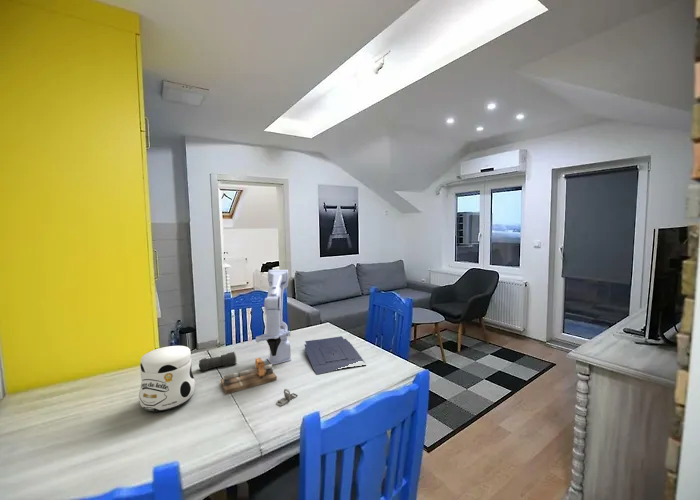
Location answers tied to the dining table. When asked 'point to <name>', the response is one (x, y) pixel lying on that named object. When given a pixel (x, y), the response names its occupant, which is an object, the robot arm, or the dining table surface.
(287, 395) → the strap clip
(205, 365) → the flashlight
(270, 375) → the pipe stand
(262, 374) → the collar
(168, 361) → the milk container
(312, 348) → the grey flat slab
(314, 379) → the dining table surface
